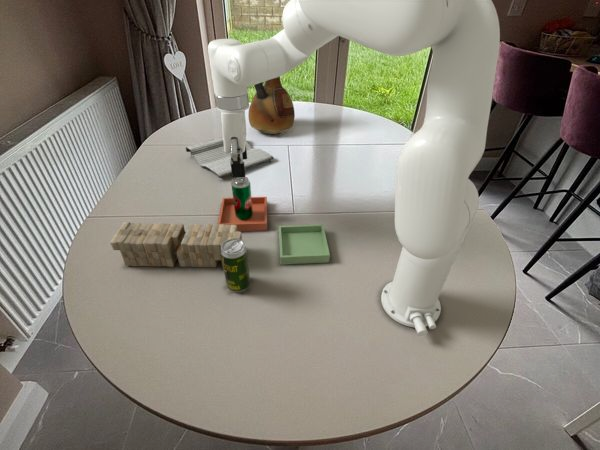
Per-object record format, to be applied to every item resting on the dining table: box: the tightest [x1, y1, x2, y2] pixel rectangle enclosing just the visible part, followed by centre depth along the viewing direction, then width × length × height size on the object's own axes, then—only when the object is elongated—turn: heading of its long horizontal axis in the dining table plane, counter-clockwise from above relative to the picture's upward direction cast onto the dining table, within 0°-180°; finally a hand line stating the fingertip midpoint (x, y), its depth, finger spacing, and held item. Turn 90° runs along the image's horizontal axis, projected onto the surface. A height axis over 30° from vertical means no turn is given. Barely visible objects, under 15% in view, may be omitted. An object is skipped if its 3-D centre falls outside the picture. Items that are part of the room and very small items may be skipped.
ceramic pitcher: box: [248, 76, 296, 135], centre depth 138 cm, size 20×20×30 cm
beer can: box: [221, 238, 251, 293], centre depth 73 cm, size 5×5×12 cm
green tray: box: [278, 224, 331, 265], centre depth 87 cm, size 12×12×2 cm
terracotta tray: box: [217, 196, 268, 232], centre depth 96 cm, size 13×13×2 cm
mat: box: [185, 136, 275, 179], centre depth 123 cm, size 23×24×5 cm
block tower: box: [109, 221, 243, 268], centre depth 81 cm, size 8×8×29 cm
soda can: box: [231, 176, 253, 220], centre depth 93 cm, size 5×5×12 cm
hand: (240, 167), depth 87 cm, fingers open, 9 cm apart
